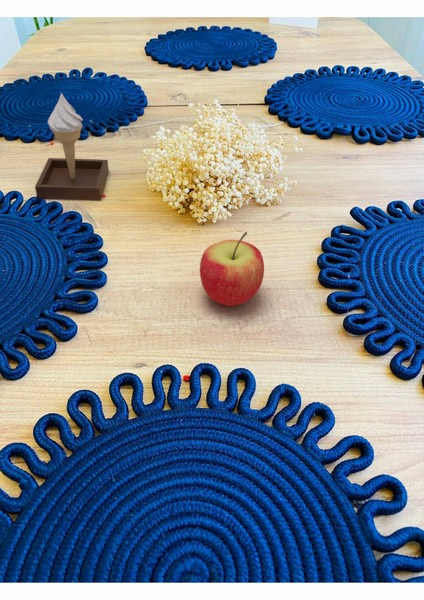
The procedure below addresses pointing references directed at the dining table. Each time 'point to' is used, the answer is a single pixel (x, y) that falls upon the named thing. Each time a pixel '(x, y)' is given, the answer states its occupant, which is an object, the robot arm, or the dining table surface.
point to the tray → (61, 185)
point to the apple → (231, 271)
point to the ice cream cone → (66, 130)
